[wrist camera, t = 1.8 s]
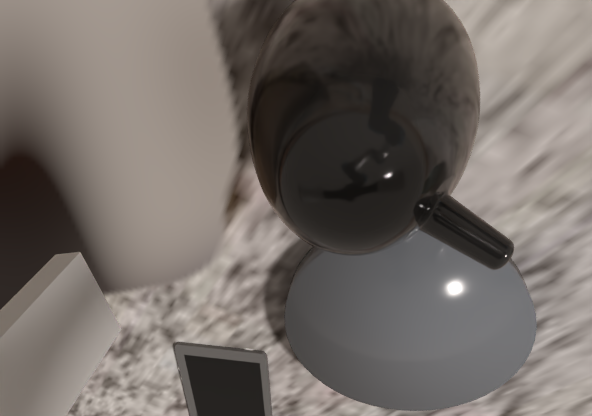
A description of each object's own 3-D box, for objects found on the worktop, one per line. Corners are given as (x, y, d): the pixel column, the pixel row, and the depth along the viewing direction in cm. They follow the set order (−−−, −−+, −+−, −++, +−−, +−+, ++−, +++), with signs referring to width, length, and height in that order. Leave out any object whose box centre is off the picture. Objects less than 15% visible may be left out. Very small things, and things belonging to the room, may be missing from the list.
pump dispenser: (407, 180, 29) (427, 387, 16) (250, 112, 28) (139, 272, 15) (506, 17, 23) (660, 132, 10) (315, -72, 22) (227, -66, 10)
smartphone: (174, 337, 40) (171, 343, 40) (267, 347, 39) (265, 353, 38) (198, 440, 48) (196, 446, 47) (276, 451, 47) (275, 457, 46)
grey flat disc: (531, 200, 28) (540, 218, 26) (526, 387, 36) (533, 410, 34) (264, 228, 32) (257, 244, 30) (313, 390, 40) (310, 411, 39)
